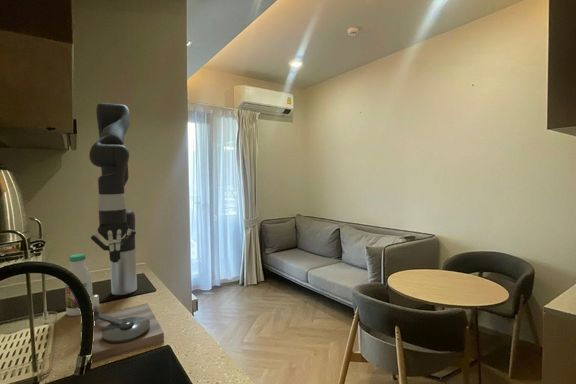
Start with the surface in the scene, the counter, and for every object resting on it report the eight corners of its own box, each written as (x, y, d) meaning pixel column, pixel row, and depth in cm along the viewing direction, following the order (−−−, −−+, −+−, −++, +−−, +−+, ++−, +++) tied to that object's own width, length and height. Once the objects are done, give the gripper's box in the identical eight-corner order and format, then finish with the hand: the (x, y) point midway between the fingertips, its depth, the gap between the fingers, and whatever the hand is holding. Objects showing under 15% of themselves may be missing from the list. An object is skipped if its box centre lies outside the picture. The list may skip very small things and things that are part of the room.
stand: (86, 325, 94) (85, 314, 94) (147, 310, 105) (147, 300, 105) (87, 364, 74) (87, 351, 74) (164, 341, 85) (163, 329, 85)
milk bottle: (77, 306, 108) (74, 252, 107) (98, 306, 108) (95, 252, 107) (60, 316, 100) (57, 258, 99) (83, 316, 100) (80, 258, 99)
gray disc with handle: (159, 326, 88) (158, 300, 87) (120, 347, 77) (119, 318, 77) (111, 311, 98) (110, 288, 97) (71, 328, 87) (70, 302, 86)
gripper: (133, 205, 101) (135, 255, 102) (86, 208, 93) (89, 263, 94) (138, 207, 95) (140, 260, 96) (88, 211, 87) (91, 269, 88)
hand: (115, 261), depth 95 cm, fingers closed
